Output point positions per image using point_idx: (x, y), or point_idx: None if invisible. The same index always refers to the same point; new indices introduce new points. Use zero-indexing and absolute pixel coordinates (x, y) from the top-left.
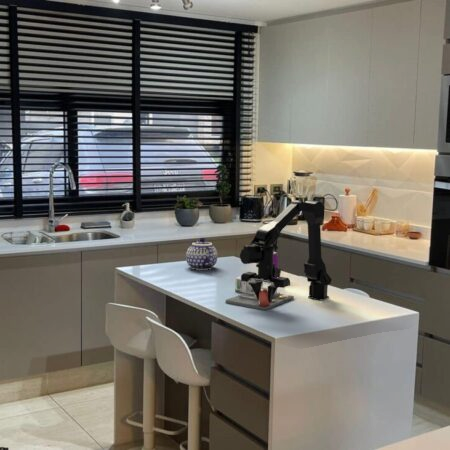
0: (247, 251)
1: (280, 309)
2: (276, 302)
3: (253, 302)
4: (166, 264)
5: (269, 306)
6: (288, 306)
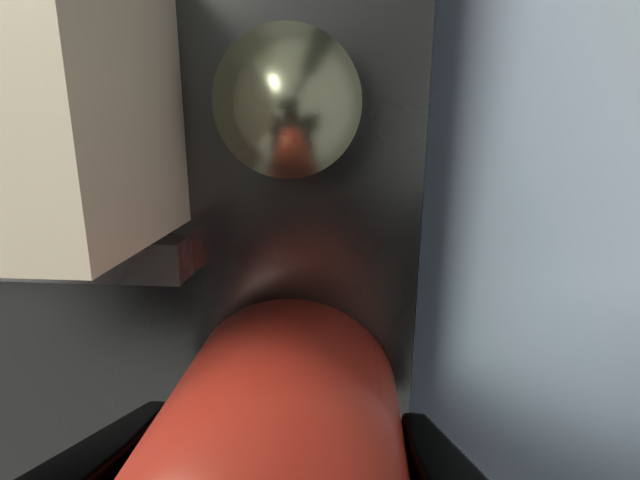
0: None
1: (571, 314)
2: (405, 136)
3: (75, 386)
4: None
5: (406, 409)
6: (628, 40)
